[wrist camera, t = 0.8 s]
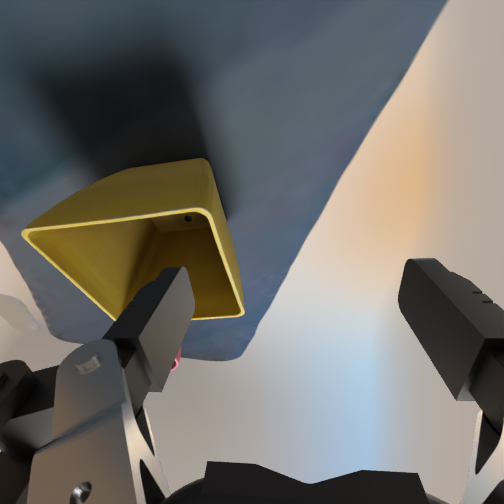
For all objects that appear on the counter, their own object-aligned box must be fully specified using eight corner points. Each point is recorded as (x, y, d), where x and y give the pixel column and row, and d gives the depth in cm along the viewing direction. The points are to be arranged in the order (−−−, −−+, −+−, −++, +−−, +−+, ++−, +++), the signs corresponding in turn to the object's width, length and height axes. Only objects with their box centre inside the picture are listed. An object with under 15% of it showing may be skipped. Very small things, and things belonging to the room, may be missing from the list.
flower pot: (248, 236, 47) (245, 318, 35) (151, 246, 49) (118, 326, 38) (224, 130, 34) (208, 206, 22) (92, 151, 36) (13, 230, 24)
